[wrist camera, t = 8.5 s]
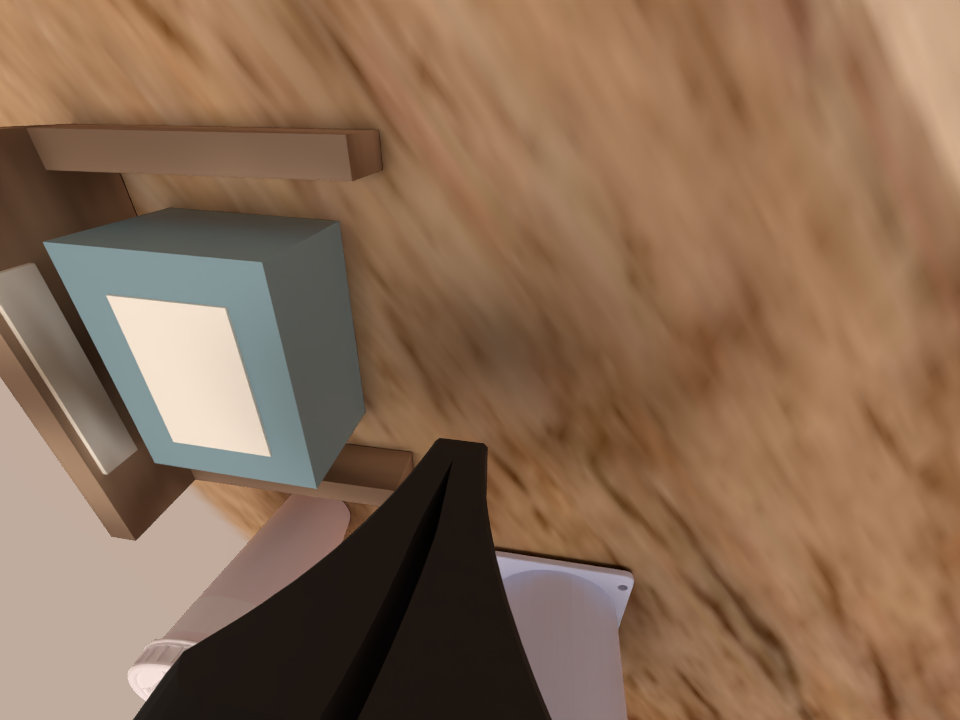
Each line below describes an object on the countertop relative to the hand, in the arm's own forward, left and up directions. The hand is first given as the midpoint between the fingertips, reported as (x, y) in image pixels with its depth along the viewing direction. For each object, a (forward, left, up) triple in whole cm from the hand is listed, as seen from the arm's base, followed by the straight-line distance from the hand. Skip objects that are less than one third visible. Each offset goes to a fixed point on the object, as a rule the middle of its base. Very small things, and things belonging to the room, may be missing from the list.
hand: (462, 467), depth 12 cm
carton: (0, +10, -7) cm, 12 cm away
